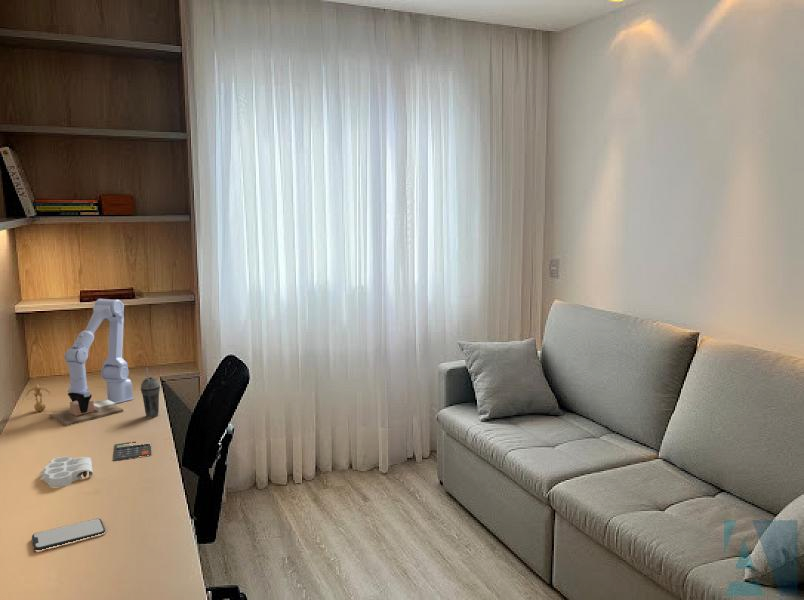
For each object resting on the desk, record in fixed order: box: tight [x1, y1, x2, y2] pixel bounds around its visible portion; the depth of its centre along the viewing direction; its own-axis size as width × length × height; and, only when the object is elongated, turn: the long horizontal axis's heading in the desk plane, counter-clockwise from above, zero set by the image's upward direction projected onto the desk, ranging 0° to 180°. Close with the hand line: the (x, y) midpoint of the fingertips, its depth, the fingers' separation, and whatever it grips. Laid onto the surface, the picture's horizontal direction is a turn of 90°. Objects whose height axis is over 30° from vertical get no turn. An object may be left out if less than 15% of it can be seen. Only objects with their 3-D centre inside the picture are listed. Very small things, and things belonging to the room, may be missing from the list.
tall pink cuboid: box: [69, 399, 94, 416], centre depth 252 cm, size 7×5×4 cm
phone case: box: [31, 518, 106, 551], centre depth 161 cm, size 9×2×16 cm
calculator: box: [112, 441, 152, 462], centre depth 216 cm, size 12×1×15 cm
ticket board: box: [49, 398, 124, 427], centre depth 253 cm, size 22×16×3 cm
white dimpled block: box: [38, 456, 94, 488], centre depth 197 cm, size 3×18×15 cm
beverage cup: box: [140, 367, 161, 418], centre depth 250 cm, size 7×7×20 cm
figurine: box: [26, 383, 51, 412], centre depth 256 cm, size 8×6×12 cm
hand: (81, 410), depth 252 cm, fingers closed on tall pink cuboid, 5 cm apart
